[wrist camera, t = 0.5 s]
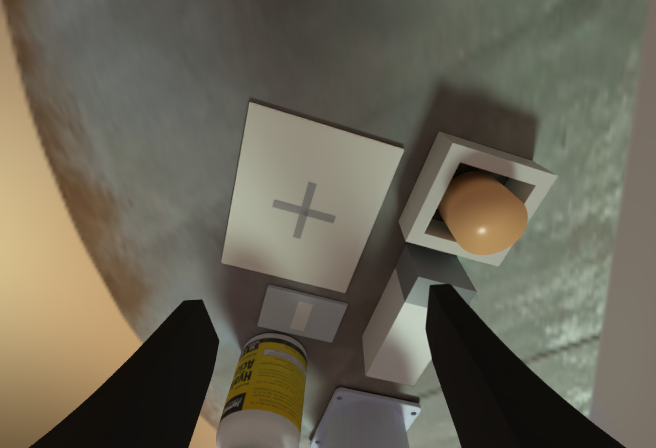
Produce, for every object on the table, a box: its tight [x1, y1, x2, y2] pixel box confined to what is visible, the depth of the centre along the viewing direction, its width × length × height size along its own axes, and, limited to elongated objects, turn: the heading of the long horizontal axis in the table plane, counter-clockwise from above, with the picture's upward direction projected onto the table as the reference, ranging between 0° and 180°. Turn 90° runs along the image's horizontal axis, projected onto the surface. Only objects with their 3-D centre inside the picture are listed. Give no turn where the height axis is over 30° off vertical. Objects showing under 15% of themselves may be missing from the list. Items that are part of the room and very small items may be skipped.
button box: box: [398, 131, 558, 267], centre depth 20 cm, size 6×6×2 cm
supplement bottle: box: [216, 333, 307, 448], centre depth 23 cm, size 5×5×10 cm
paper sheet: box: [221, 102, 404, 293], centre depth 21 cm, size 11×9×1 cm
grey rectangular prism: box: [362, 243, 477, 386], centre depth 23 cm, size 9×4×4 cm, turn 163°
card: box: [257, 284, 348, 343], centre depth 25 cm, size 4×6×1 cm, turn 73°
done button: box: [438, 171, 528, 255], centre depth 18 cm, size 4×4×3 cm
